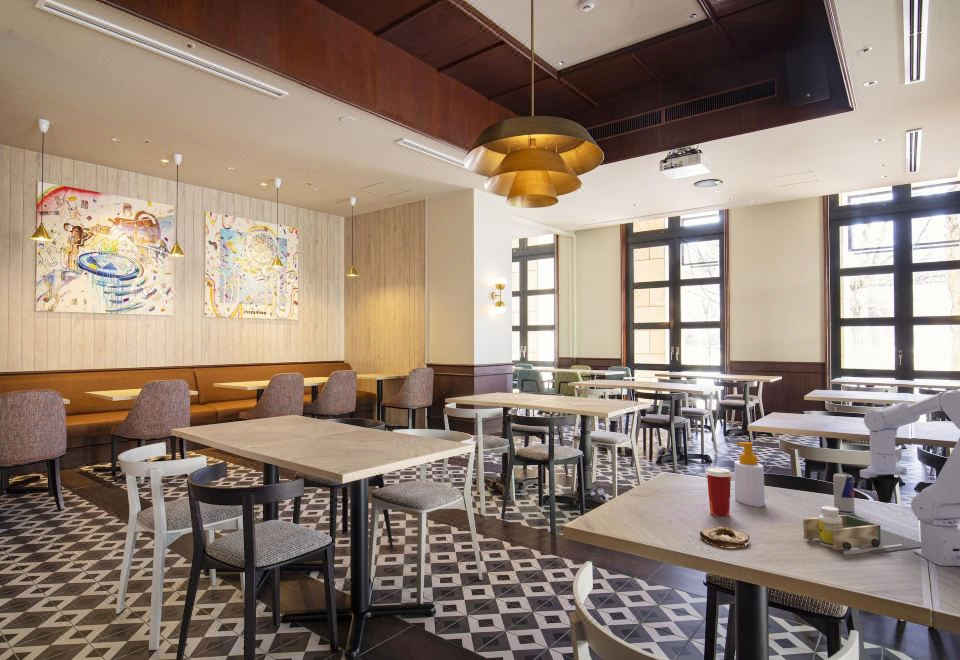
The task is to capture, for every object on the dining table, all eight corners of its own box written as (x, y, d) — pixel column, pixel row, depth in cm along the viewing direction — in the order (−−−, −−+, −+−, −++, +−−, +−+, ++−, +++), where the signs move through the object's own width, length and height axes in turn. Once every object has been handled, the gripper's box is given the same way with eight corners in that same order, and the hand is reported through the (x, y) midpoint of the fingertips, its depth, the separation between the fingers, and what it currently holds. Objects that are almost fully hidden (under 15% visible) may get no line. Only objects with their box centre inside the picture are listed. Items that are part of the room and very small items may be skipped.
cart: (842, 530, 154) (842, 513, 154) (885, 545, 142) (884, 526, 142) (800, 535, 150) (799, 517, 151) (840, 551, 138) (839, 531, 139)
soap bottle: (729, 496, 194) (728, 439, 195) (752, 496, 193) (751, 439, 194) (746, 507, 181) (744, 446, 181) (771, 507, 180) (769, 446, 181)
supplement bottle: (821, 540, 149) (819, 504, 150) (844, 544, 146) (843, 507, 146) (818, 545, 145) (816, 508, 145) (842, 550, 142) (841, 512, 142)
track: (873, 527, 159) (873, 525, 159) (930, 546, 144) (930, 544, 144) (799, 536, 152) (799, 533, 152) (851, 556, 137) (851, 554, 137)
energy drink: (857, 515, 170) (856, 477, 171) (838, 514, 172) (837, 476, 172) (849, 510, 176) (848, 473, 176) (831, 510, 177) (830, 473, 177)
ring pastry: (684, 535, 155) (684, 520, 155) (729, 531, 158) (729, 517, 158) (718, 554, 140) (718, 537, 141) (767, 549, 144) (767, 533, 144)
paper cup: (738, 515, 171) (737, 471, 172) (719, 518, 168) (718, 473, 169) (719, 509, 179) (718, 466, 179) (701, 512, 176) (700, 468, 176)
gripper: (888, 449, 158) (890, 496, 157) (849, 452, 154) (850, 500, 153) (913, 453, 151) (915, 502, 150) (873, 456, 147) (874, 507, 146)
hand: (884, 502), depth 151 cm, fingers closed
